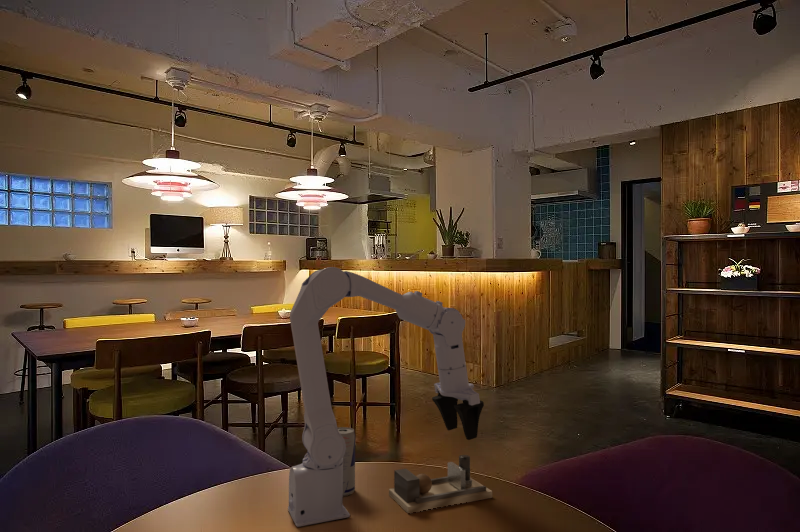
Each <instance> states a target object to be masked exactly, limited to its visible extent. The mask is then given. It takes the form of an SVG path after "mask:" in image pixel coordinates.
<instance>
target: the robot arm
mask: <svg viewBox="0 0 800 532" xmlns="http://www.w3.org/2000/svg"><path fill="white" fill-rule="evenodd" d="M354 297H360V298H363V299H366V300H368V301H371V302H374V303H376V304H378V305H382V306H385V307H387V308H390V309H392V310H394V311H395V313H396V315H397V316H398V318H399V320H402V321H405V322H407V323H409V324H412V325H415V326H417V327H420V328H423V329H424V330H427V331H429V333H430V334H432V337H433V344H434V351H435V358H436V364H437V366H436V367H437V372H438V373H437V374H438V380H439V382H436V383H433V387H434V392H435V394H437V395H435V396H433V397H432V398H431V399H432V401H433V403H434V404H435V405H436V408H437V409H438V411H439V414H440V415H441V418H442V420H443V423H444V426H445V428H446V430H447V431H452V430H455V429H458V416H459V418H460V422H461V425H462V429H463V432H464V433H463V434H464V437H465V438H466V440H467V441H470V440H473V439H476V438H478V432H479V423H480V416H481V413H482V411H483V408H484V406H485V403H484V400H481V399H480V393H479V392H476V391H475V390H474V388H475V385H474V384H473V383H470V382H469V376H468V369H467V364H466V363H467V362H466V357H465V356H466V355H465V350H464V343H463V332H464V329H465V328H466V327H465V326H466V319H464V318H463V316H462V314H461V313H460V311H459V310H458V309H456V308H454V307H444V306H443V302H442V301H439V300H436V301H434V300H431V299H429V298H426V297H424V296H423V292H421V291H418V290H416V291H415V290H414V292H413V291H408V292H406V293H403V294H401V293H399V292H396V291H394V290H392V289H390V288H388V287H387V286H384V285H382V284H379V283H377V282H375V281H373V280H371V279H369V278H367V277H365V276H363V275H360V274H358V273H354V272H351V271H347V270H345V271H344V270H342V269H341V268H339V267H335V266H328V267H325V268H323V269H317V270H315V271H313V272H312V273H310V275H309V276H308V277H307V278H306V279H305V280H304V281H303V282H302V283H301V287H300V289H299V292H298V294H297V297H296V299H295V301H294V304H293V305H292V308H291V310H290V313H289V321H290V327H291V328H290V329H291V334H292V340H293V347H294V352H295V359H296V364H297V365H296V366H297V371H298V378H299V385H300V389H301V395H302V396H301V397H302V401H303V408H304V415H303V421H304V428H303V432H302V436H301V440H302V444H303V446H304V448H305V449H306V450H307V452H306V453H305V454H304V457H303V458H302V463H299V464H297V465H293V466H291V467H290V468H289V474H288V506H287V511H288V512H289V515H290V517H291V519H292V521H293V522H294V525H295V526H296V527H297V528H300V527H304V526H309V525H315V524H320V523H325V522H331V521H335V520H336V521H337V520H342V519H347V518H350V517H351V513H350V512H349V511H348V510H347V509H346V507H345V506H344V503H343V501H344V500H343V499H344V496H343V456H344V454H345V450H346V444H345V440H344V438H343V437H342V435H341V434H340V433H339V431H338V428H339V427H338V425H337V419H336V416H335V414H334V411H333V408H332V402H331V395H330V390H329V383H328V377H327V370H326V364H325V358H324V351H323V346H322V341H321V334H320V327H319V321H320V320H321V319H322V318H323V317H324V315H326V313H327V312H328V310H329V309H330V308H331V307H333V306H334V305H337V303H339V302H341V301H342V300H343V299H344V298H354ZM458 401H462V402H460V403H458Z"/></svg>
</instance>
